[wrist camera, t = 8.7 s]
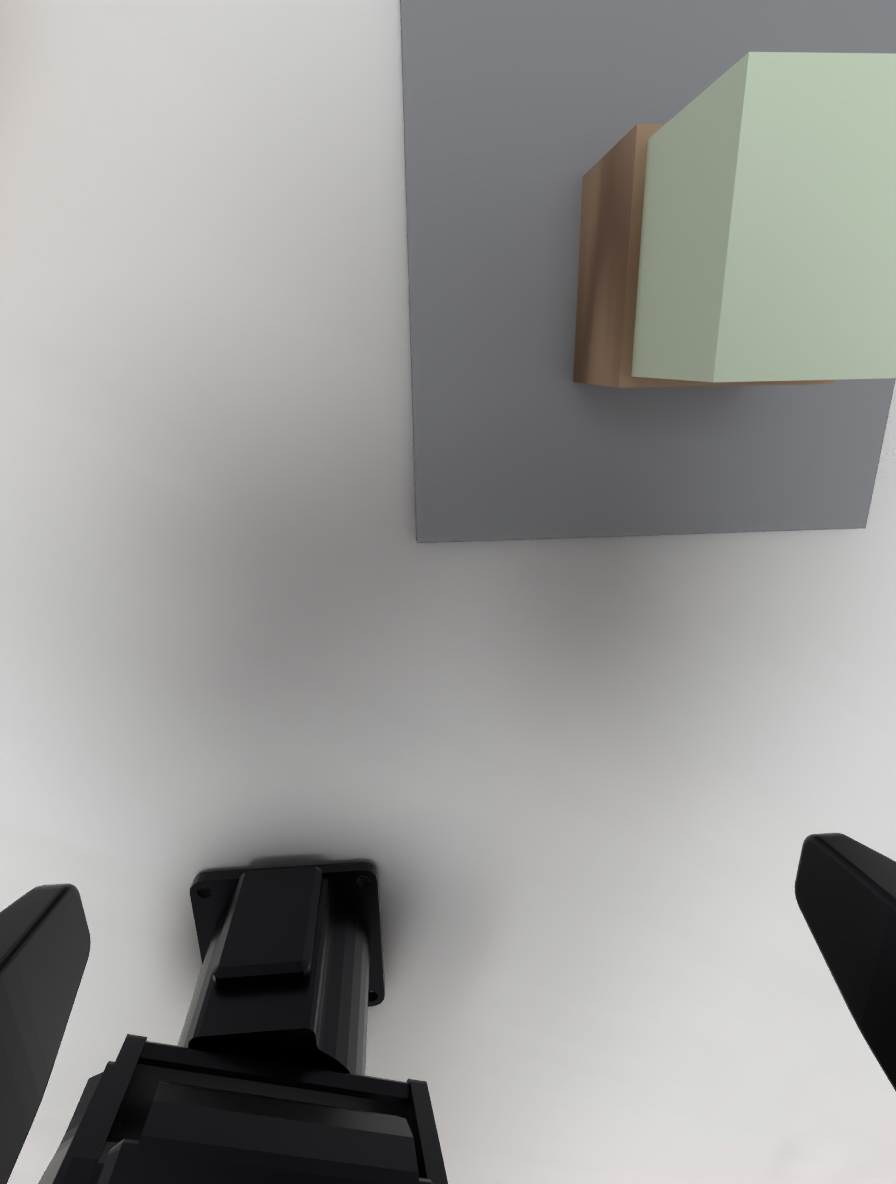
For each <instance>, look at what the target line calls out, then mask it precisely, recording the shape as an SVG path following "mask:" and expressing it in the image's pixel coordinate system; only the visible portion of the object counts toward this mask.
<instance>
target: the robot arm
mask: <svg viewBox="0 0 896 1184" xmlns="http://www.w3.org/2000/svg"><path fill="white" fill-rule="evenodd" d="M360 876H367V877H368V878H366V879H361V878H359V877H360ZM203 886H204V887H208V888H210V889H209V890H208V889H204V888H202V887H203ZM795 895H796V900H797V903H798V906H799V908H800V910H801V912H802V914H803V916H804V918H805V920H806V922H807V924H808V927H809V929H810V931H811V933H812V935H813V937H814V939H815V941H816V943H817V945H818V947H819V949H820V951H821V953H822V955H823V957H824V959H825V962H826V964H827V966H828V968H829V970H830V972H831V974H832V976H833V978H834V980H835V982H836V984H837V986H838V988H839V990H840V992H841V994H842V996H843V999H844V1001H845V1003H846V1005H847V1007H848V1009H849V1011H850V1013H851V1015H852V1016H853V1018H854V1020H855V1022H856V1024H857V1026H858V1028H859V1030H860V1032H861V1033H862V1035H863V1037H864V1039H865V1040H866V1042H867V1044H868V1045H869V1047H870V1049H871V1051H872V1052H873V1054H874V1056H875V1057H876V1059H877V1061H878V1062H879V1064H880V1066H881V1067H882V1069H883V1071H884V1072H885V1074H886V1076H887V1077H888V1079H889V1081H890V1082H891V1084H892V1086H893V1087H894V1089H895V1091H896V862H895V861H893V860H891V859H890V858H888V857H886V856H884V855H882V854H880V853H878V852H876V851H874V850H872V849H871V848H869V847H867V846H865V845H863V844H861V843H859V842H857V841H855V840H853V839H852V838H850V837H848V836H846V835H844V834H840V833H824V834H812V835H809V836H808V837H807V838H806V839H805V840H804V842H803V846H802V851H801V856H800V861H799V866H798V871H797V876H796V881H795ZM190 897H191V903H192V908H193V914H194V919H195V925H196V930H197V936H198V941H199V947H200V952H201V958H202V964H203V966H202V969H201V972H200V976H199V979H198V982H197V985H196V988H195V991H194V995H193V998H192V1001H191V1004H190V1007H189V1010H188V1014H187V1017H186V1020H185V1023H184V1026H183V1030H182V1033H181V1036H180V1039H179V1042H178V1045H177V1046H174V1045H168V1044H161V1043H155V1042H149V1041H147V1037H143V1036H136V1035H130V1034H127V1037H126V1039H125V1041H124V1043H123V1046H122V1048H121V1050H120V1052H119V1055H118V1057H117V1059H116V1061H115V1062H111V1061H108V1063H107V1065H106V1068H105V1070H104V1072H102V1073H100V1074H98V1075H96V1076H93V1077H91V1078H89V1079H88V1082H87V1084H86V1087H85V1089H84V1091H83V1094H82V1096H81V1098H80V1101H79V1103H78V1105H77V1108H76V1110H75V1112H74V1115H73V1117H72V1120H71V1122H70V1124H69V1126H68V1129H67V1131H66V1133H65V1135H64V1137H63V1140H62V1142H61V1144H60V1146H59V1148H58V1150H57V1152H56V1153H55V1155H54V1157H53V1159H52V1160H51V1162H50V1164H49V1166H48V1167H47V1169H46V1171H45V1173H44V1174H43V1176H42V1178H41V1180H40V1181H39V1183H38V1184H448V1181H447V1176H446V1171H445V1167H444V1162H443V1157H442V1153H441V1148H440V1143H439V1138H438V1134H437V1129H436V1124H435V1119H434V1115H433V1110H432V1105H431V1101H430V1096H429V1091H428V1086H427V1083H426V1082H425V1081H419V1080H412V1079H408V1080H407V1082H401V1081H395V1080H389V1079H382V1078H376V1077H370V1076H365V1062H366V1037H367V1012H368V1007H369V1006H375V1005H378V1004H380V1003H381V1002H382V1001H383V1000H384V996H385V983H384V966H383V949H382V933H381V916H380V900H379V883H378V871H377V868H376V867H375V866H374V865H373V864H371V863H368V862H357V863H342V864H326V865H311V866H296V867H281V868H266V869H250V870H235V871H220V872H205V873H201V874H199V875H197V876H196V877H195V879H194V880H193V883H192V885H191V888H190ZM89 952H90V933H89V929H88V925H87V921H86V917H85V913H84V909H83V906H82V902H81V898H80V894H79V891H78V889H77V888H76V887H75V886H74V885H72V884H55V885H42V886H38V887H35V888H34V889H32V890H30V891H29V892H27V893H26V894H25V895H23V896H22V897H21V898H19V899H18V900H16V901H15V902H14V903H12V904H11V905H10V906H8V907H7V908H5V909H4V910H3V911H1V912H0V1184H7V1182H8V1179H9V1177H10V1175H11V1172H12V1170H13V1168H14V1165H15V1163H16V1161H17V1158H18V1156H19V1154H20V1151H21V1149H22V1147H23V1144H24V1142H25V1140H26V1137H27V1135H28V1133H29V1130H30V1128H31V1126H32V1123H33V1121H34V1118H35V1116H36V1113H37V1111H38V1108H39V1106H40V1103H41V1101H42V1098H43V1095H44V1092H45V1089H46V1087H47V1084H48V1081H49V1078H50V1075H51V1072H52V1069H53V1066H54V1063H55V1060H56V1056H57V1053H58V1050H59V1047H60V1044H61V1041H62V1038H63V1035H64V1032H65V1029H66V1025H67V1022H68V1019H69V1016H70V1013H71V1010H72V1007H73V1004H74V1001H75V998H76V994H77V991H78V988H79V985H80V982H81V979H82V976H83V973H84V970H85V967H86V963H87V960H88V957H89Z"/></svg>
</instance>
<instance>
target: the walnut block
mask: <svg viewBox="0 0 896 1184" xmlns="http://www.w3.org/2000/svg"><path fill="white" fill-rule="evenodd" d="M664 125H665V124H636V125H635V126H634V127H633V128H632V129H631V130H630V131H629V132H628V133H627V134H626V135H625V136H624V137H623V138H622V139H621V140H620V141H619V142H618V143H617V144H616V145H615V146H614V147H613V148H612V149H610V150H609V151H608V152H607V153H606V154H605V155H604V156H603V157H602V158H601V159H600V160H599V161H598V162H597V163H596V164H595V165H594V166H593V167H592V168H591V169H590V170H589V171H588V172H587V173H586V174H585V175H584V176H583V184H582V205H581V227H580V248H579V269H578V290H577V311H576V332H575V353H574V374H573V382H577V383H585V384H593V385H601V386H609V387H616V388H637V387H695V386H753V385H811V384H834V380H796V381H751V382H701V381H687V380H673V379H659V378H646V377H632V376H631V373H632V359H633V344H634V330H635V316H636V301H637V287H638V273H639V259H640V244H641V230H642V216H643V202H644V187H645V173H646V159H647V144H648V139H649V138H650V137H651V136H652V135H653V134H655V133H656V132H657V131H658V130H659V129H660V128H662V127H663V126H664Z"/></svg>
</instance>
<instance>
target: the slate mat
mask: <svg viewBox="0 0 896 1184" xmlns="http://www.w3.org/2000/svg"><path fill="white" fill-rule="evenodd" d="M400 6H401V40H402V73H403V107H404V140H405V174H406V207H407V241H408V274H409V308H410V341H411V375H412V408H413V441H414V475H415V508H416V540H417V543H432V542H463V541H493V540H523V539H553V538H584V537H614V536H644V535H674V534H705V533H735V532H765V531H796V530H826V529H856V528H866V523H867V518H868V513H869V508H870V503H871V498H872V493H873V488H874V483H875V478H876V473H877V468H878V463H879V458H880V453H881V448H882V443H883V438H884V433H885V429H886V424H887V419H888V414H889V409H890V404H891V399H892V394H893V389H894V384H895V379H896V378H884V379H840V380H834V384H811V385H753V386H695V387H637V388H616V387H609V386H601V385H593V384H585V383H577V382H573V374H574V353H575V332H576V311H577V290H578V269H579V248H580V227H581V205H582V184H583V176H584V175H585V174H586V173H587V172H588V171H589V170H590V169H591V168H592V167H593V166H594V165H595V164H596V163H597V162H598V161H599V160H600V159H601V158H602V157H603V156H604V155H605V154H606V153H607V152H608V151H609V150H610V149H612V148H613V147H614V146H615V145H616V144H617V143H618V142H619V141H620V140H621V139H622V138H623V137H624V136H625V135H626V134H627V133H628V132H629V131H630V130H631V129H632V128H633V127H634V126H635V125H636V124H666V123H667V122H668V121H670V120H671V119H672V118H673V117H674V116H675V115H677V114H678V113H679V112H680V111H681V110H682V109H684V108H685V107H686V106H687V105H688V104H689V103H690V102H692V101H693V100H694V99H695V98H696V97H697V96H699V95H700V94H701V93H702V92H703V91H704V90H705V89H707V88H708V87H709V86H710V85H711V84H712V83H714V82H715V81H716V80H717V79H718V78H719V77H721V76H722V75H723V74H724V73H725V72H726V71H727V70H729V69H730V68H731V67H732V66H733V65H734V64H736V63H737V62H738V61H739V60H740V59H741V58H743V57H744V56H745V55H746V54H747V53H748V52H809V53H893V54H896V0H400Z"/></svg>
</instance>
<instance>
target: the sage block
mask: <svg viewBox="0 0 896 1184" xmlns="http://www.w3.org/2000/svg"><path fill="white" fill-rule="evenodd" d="M631 376H632V377H646V378H659V379H673V380H687V381H701V382H751V381H796V380H840V379H884V378H896V54H893V53H809V52H748V53H747V54H746V55H745V56H744V57H743V58H741V59H740V60H739V61H738V62H737V63H736V64H734V65H733V66H732V67H731V68H730V69H729V70H727V71H726V72H725V73H724V74H723V75H722V76H721V77H719V78H718V79H717V80H716V81H715V82H714V83H712V84H711V85H710V86H709V87H708V88H707V89H705V90H704V91H703V92H702V93H701V94H700V95H699V96H697V97H696V98H695V99H694V100H693V101H692V102H690V103H689V104H688V105H687V106H686V107H685V108H684V109H682V110H681V111H680V112H679V113H678V114H677V115H675V116H674V117H673V118H672V119H671V120H670V121H668V122H667V123H666V124H665V125H664V126H663V127H662V128H660V129H659V130H658V131H657V132H656V133H655V134H653V135H652V136H651V137H650V138H649V139H648V144H647V159H646V173H645V187H644V202H643V216H642V230H641V244H640V259H639V273H638V287H637V301H636V316H635V330H634V344H633V359H632V373H631Z"/></svg>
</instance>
